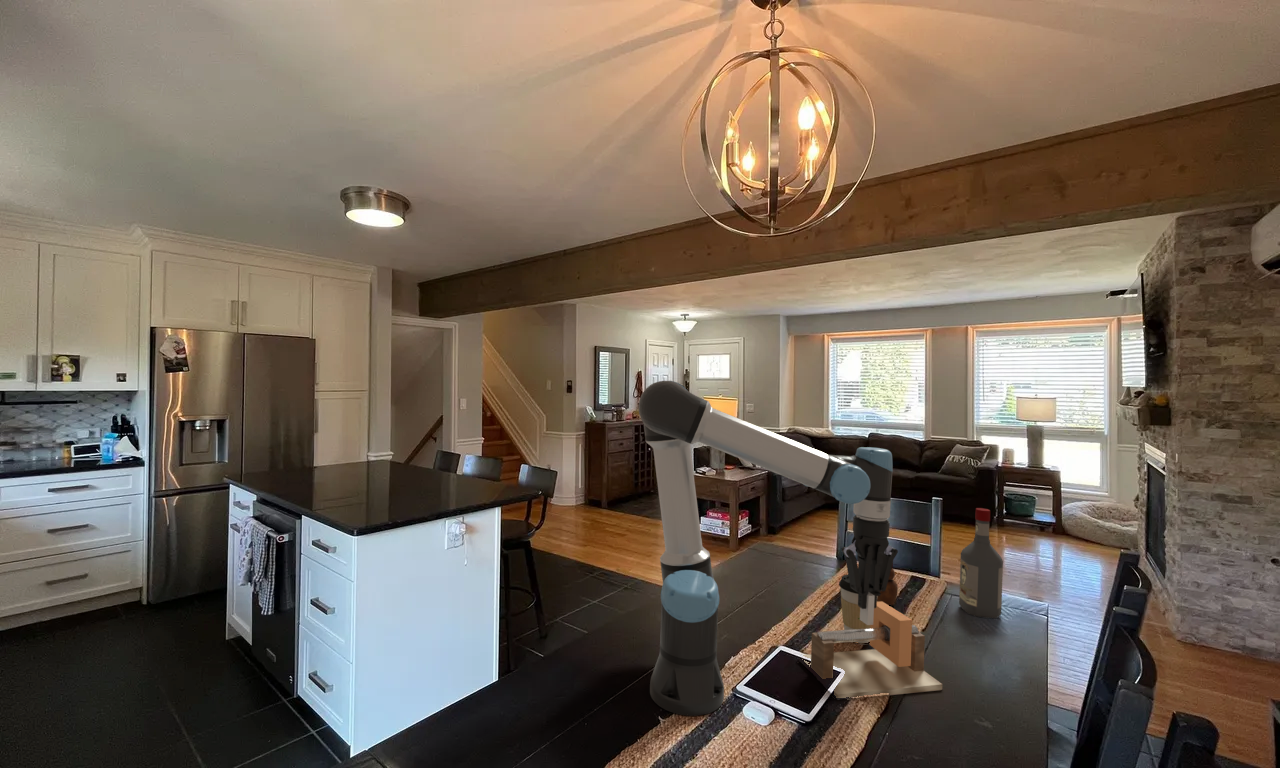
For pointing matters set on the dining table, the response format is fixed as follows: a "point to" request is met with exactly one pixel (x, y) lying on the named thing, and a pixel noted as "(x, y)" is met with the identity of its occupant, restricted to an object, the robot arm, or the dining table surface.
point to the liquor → (981, 573)
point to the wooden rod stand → (872, 670)
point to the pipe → (859, 634)
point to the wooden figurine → (889, 590)
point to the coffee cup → (850, 607)
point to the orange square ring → (893, 634)
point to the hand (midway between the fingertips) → (866, 622)
